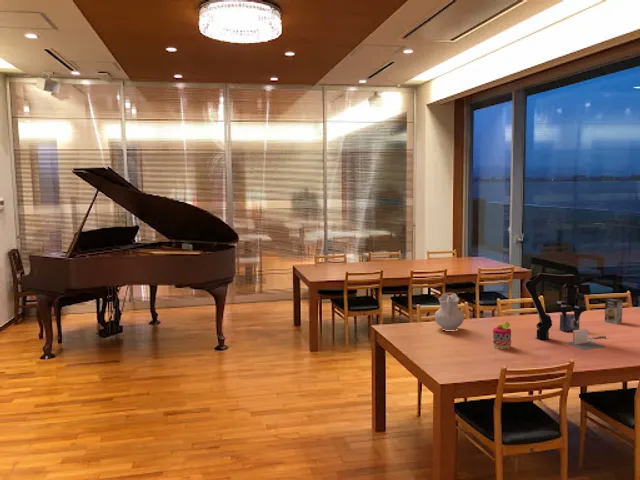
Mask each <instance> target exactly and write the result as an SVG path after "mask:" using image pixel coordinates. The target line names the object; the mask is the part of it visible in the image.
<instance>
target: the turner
mask: <svg viewBox="0 0 640 480" xmlns="http://www.w3.org/2000/svg"><path fill="white" fill-rule="evenodd" d="M606 338H607V336H606V335H600V336H592V337H587V340H588V341H591V342H593V341H597V339H606Z"/></svg>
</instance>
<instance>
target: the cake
mask: <svg viewBox="0 0 640 480" xmlns="http://www.w3.org/2000/svg"><path fill="white" fill-rule="evenodd" d="M510 325H511V324H510V323H509V322H508V321H506V322H505V323H503V324H502V323H497V326H496V327H494V328H493V329H492V334H493V336H492V337H493V338H492V339H493V340H492V343H493V347H494V346H495V347H498V348H504V349H503V350H506V349H505V348H510V347H512V346H511V345H512V329H511V328H509V327H510ZM495 347H494V348H495ZM510 349H511V348H510Z"/></svg>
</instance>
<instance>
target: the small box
mask: <svg viewBox="0 0 640 480" xmlns="http://www.w3.org/2000/svg"><path fill="white" fill-rule="evenodd" d="M580 317H581V316H580ZM580 317H579V319H578V321H575V316H574V313H566V318H564V317H563V314H562V313H561V314H559V330H560V331H561V332H564V333H568V332H569V333H571V332H572V333H573V330H580Z"/></svg>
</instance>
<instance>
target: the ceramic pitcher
mask: <svg viewBox="0 0 640 480" xmlns="http://www.w3.org/2000/svg"><path fill="white" fill-rule="evenodd" d="M438 302H439V305H440V308H439V309H438V310H437V311H435V313H434V320H435V323H437V325H438V326H439V327H440V328H442V329H445V330H456V329H458V330H459V328H458V327H460V326H461V325H463V322H464V321H465V315H464V312H463V311H462V310H461V309H460V308H459V307H458V306H459V302H460V297H458V294H456V293H455V292H452V293H451V295H449V294H447V293H446V294H445V293H442V294H441V296H440V297H439V298H438Z"/></svg>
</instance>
